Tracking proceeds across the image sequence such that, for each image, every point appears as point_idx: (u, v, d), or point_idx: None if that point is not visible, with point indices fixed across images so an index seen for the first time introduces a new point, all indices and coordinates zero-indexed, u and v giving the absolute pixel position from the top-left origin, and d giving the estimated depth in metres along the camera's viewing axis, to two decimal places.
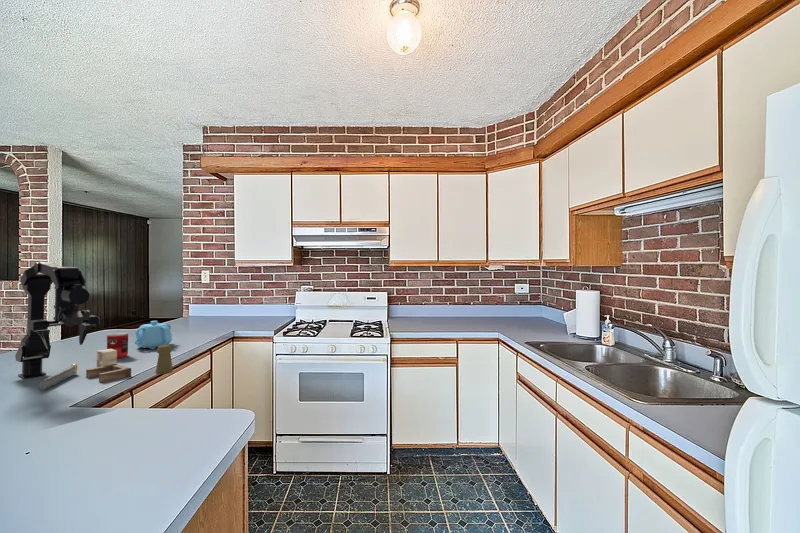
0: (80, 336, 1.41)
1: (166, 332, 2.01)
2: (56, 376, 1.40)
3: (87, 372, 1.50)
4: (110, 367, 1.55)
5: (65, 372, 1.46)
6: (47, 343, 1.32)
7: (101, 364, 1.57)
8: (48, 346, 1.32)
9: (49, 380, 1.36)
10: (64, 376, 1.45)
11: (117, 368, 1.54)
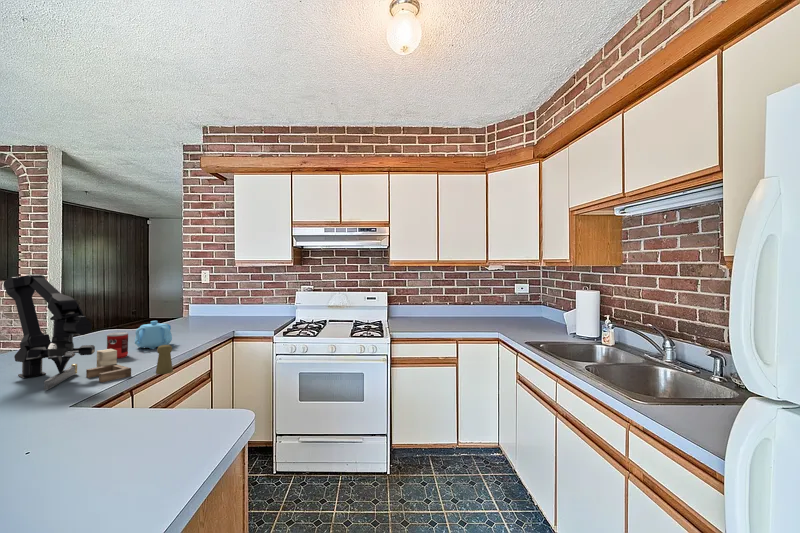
0: None
1: (166, 332, 2.01)
2: (59, 376, 1.41)
3: (87, 372, 1.50)
4: (110, 367, 1.55)
5: (67, 372, 1.46)
6: (58, 369, 1.45)
7: (101, 364, 1.57)
8: (59, 371, 1.45)
9: (53, 380, 1.37)
10: (66, 376, 1.45)
11: (117, 368, 1.54)
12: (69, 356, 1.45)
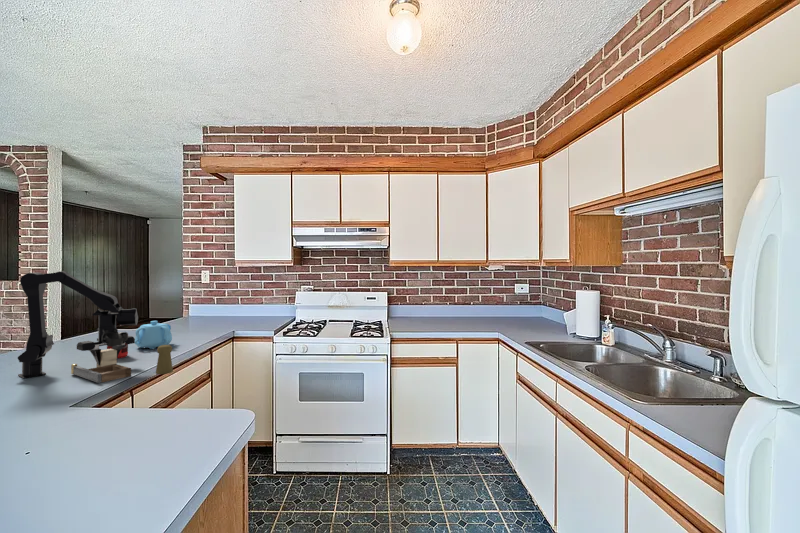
0: None
1: (166, 332, 2.01)
2: None
3: None
4: (110, 367, 1.55)
5: None
6: (98, 360, 1.57)
7: (101, 364, 1.57)
8: (99, 362, 1.57)
9: None
10: None
11: (117, 368, 1.54)
12: (124, 345, 1.64)
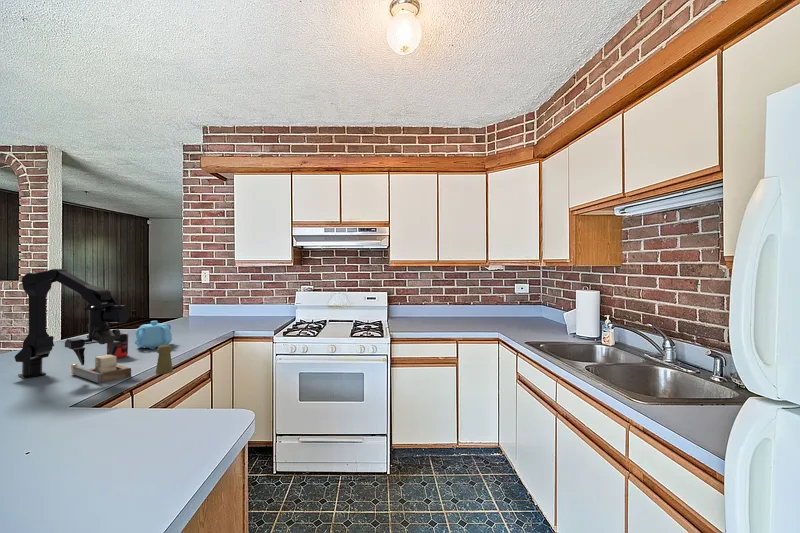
0: (110, 353, 1.54)
1: (166, 332, 2.01)
2: None
3: None
4: None
5: None
6: (82, 360, 1.45)
7: (100, 371, 1.48)
8: (83, 362, 1.45)
9: None
10: None
11: (117, 368, 1.54)
12: (121, 342, 1.55)
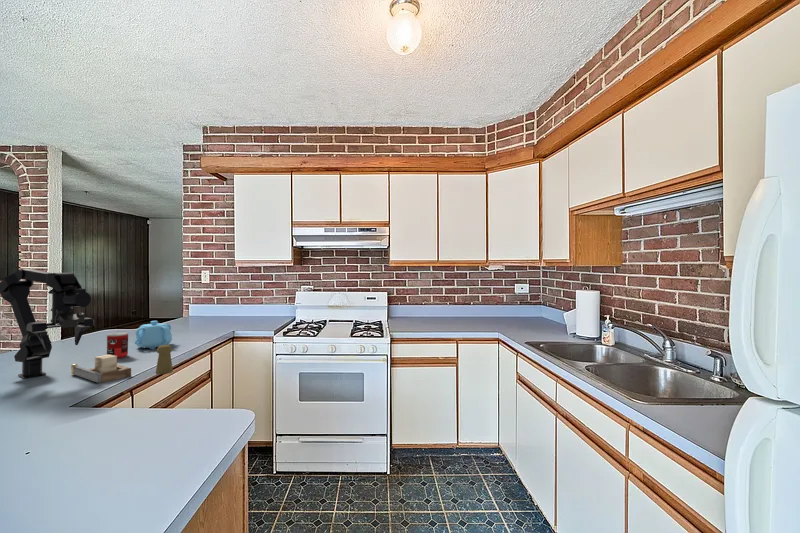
0: (76, 337, 1.51)
1: (166, 332, 2.01)
2: None
3: None
4: None
5: None
6: (45, 344, 1.42)
7: (100, 371, 1.48)
8: (46, 346, 1.43)
9: None
10: None
11: (117, 368, 1.54)
12: (87, 326, 1.52)
